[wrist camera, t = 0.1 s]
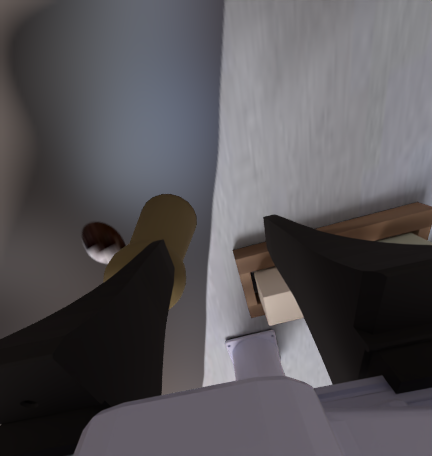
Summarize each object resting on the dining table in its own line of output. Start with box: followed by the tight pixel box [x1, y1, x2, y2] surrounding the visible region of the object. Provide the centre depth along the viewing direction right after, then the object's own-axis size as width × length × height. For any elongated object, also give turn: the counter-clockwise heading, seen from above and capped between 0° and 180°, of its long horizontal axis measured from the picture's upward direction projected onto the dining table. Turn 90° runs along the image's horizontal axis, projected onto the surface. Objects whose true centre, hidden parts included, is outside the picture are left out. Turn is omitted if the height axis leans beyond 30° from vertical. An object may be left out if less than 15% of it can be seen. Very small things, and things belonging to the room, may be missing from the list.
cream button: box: [254, 267, 304, 326], centre depth 22 cm, size 4×4×4 cm
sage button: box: [377, 233, 432, 245], centre depth 22 cm, size 4×4×4 cm
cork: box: [103, 194, 197, 309], centre depth 16 cm, size 6×6×11 cm
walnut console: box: [233, 202, 432, 318], centre depth 24 cm, size 10×22×2 cm, turn 105°
